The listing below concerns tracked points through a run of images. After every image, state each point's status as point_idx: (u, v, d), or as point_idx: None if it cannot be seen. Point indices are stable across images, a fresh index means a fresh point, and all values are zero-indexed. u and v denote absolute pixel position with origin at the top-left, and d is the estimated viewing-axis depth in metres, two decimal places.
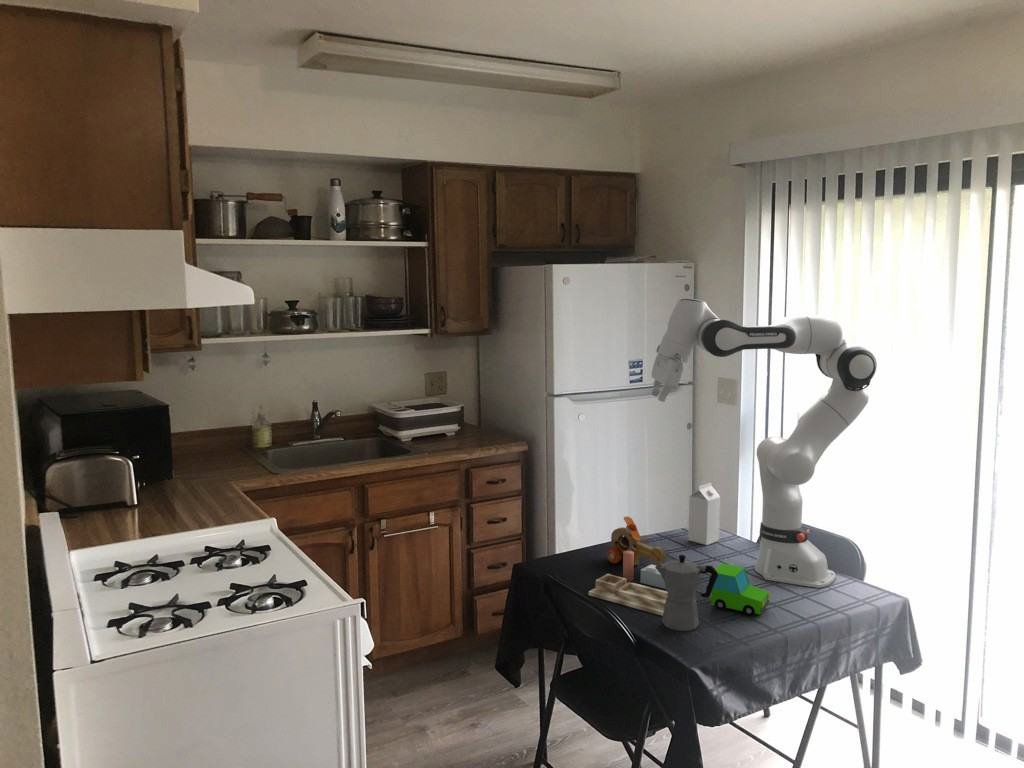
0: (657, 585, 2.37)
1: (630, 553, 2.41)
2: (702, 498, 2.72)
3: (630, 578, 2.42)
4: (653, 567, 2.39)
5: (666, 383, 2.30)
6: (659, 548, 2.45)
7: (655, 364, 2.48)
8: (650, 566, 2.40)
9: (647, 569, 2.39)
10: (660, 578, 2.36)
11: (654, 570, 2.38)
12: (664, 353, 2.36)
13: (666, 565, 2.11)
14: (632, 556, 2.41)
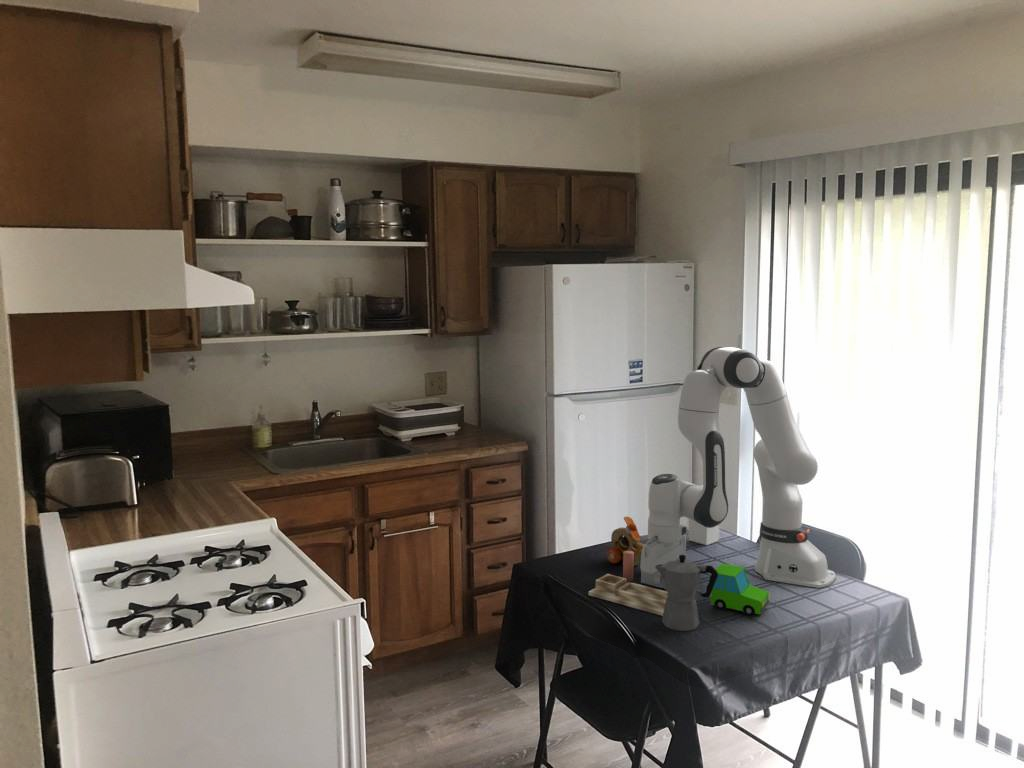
0: (658, 584, 2.37)
1: (630, 553, 2.41)
2: None
3: (630, 578, 2.42)
4: None
5: (641, 569, 2.31)
6: None
7: None
8: None
9: None
10: None
11: None
12: (648, 536, 2.36)
13: (666, 565, 2.11)
14: (632, 556, 2.41)
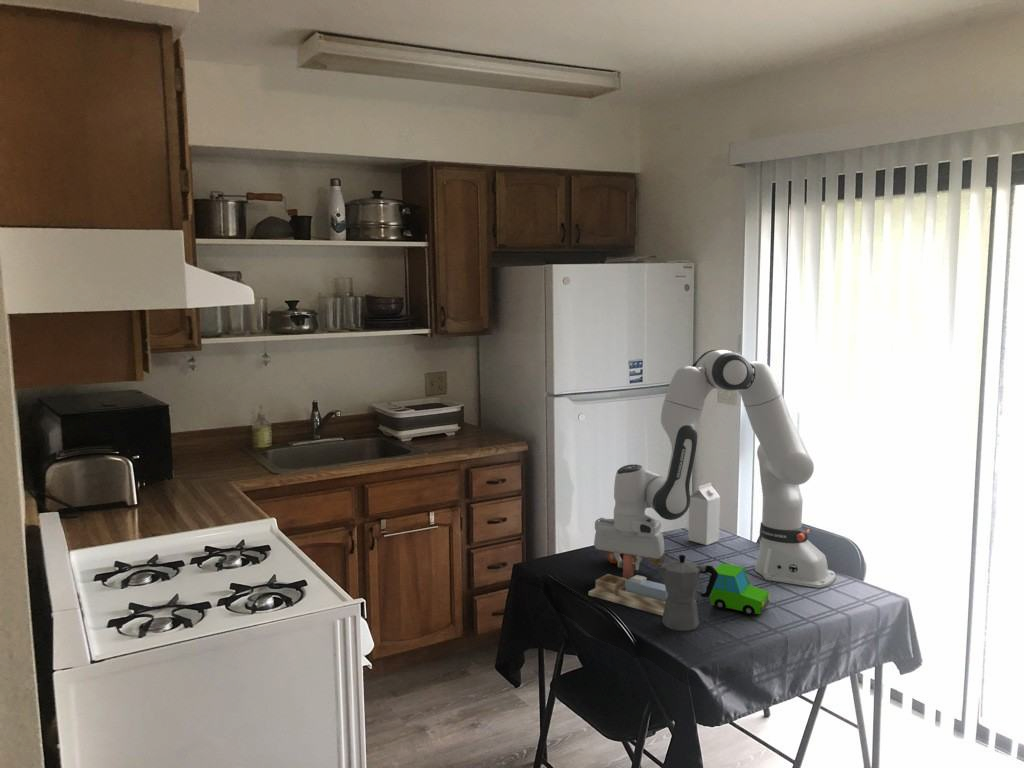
0: None
1: None
2: (702, 498, 2.72)
3: None
4: (639, 578, 2.27)
5: None
6: None
7: None
8: (635, 577, 2.28)
9: (632, 580, 2.27)
10: (646, 590, 2.24)
11: (639, 581, 2.26)
12: None
13: (666, 565, 2.11)
14: (632, 556, 2.41)
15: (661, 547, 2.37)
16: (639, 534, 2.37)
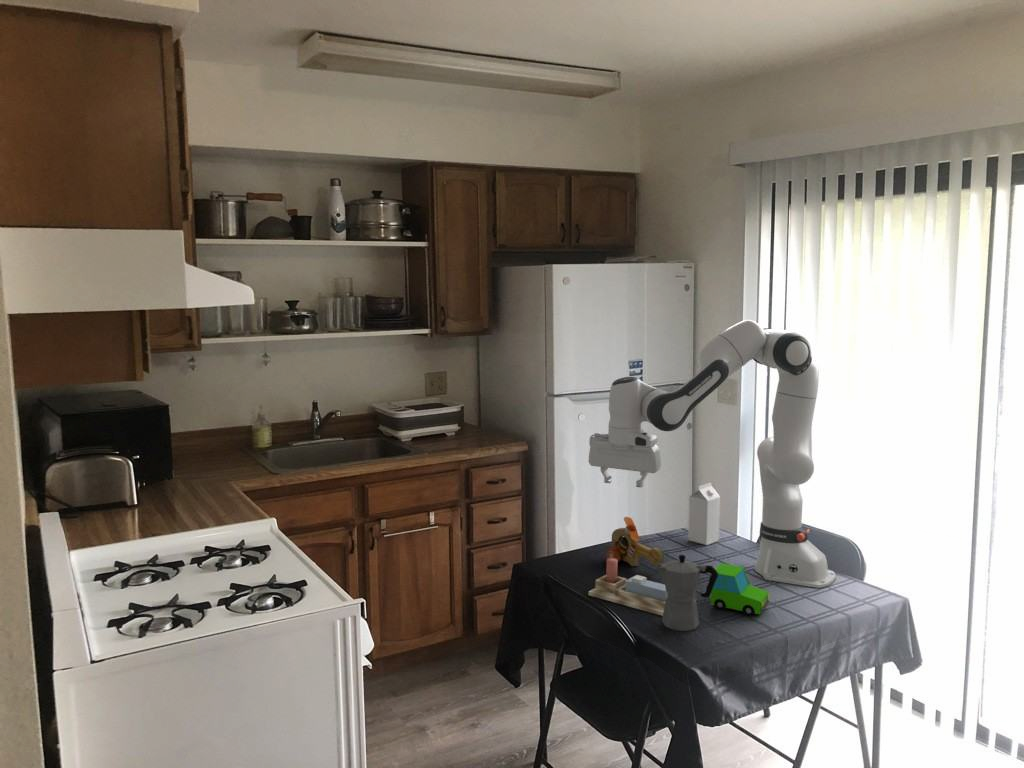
0: None
1: (614, 561, 2.32)
2: (702, 498, 2.72)
3: None
4: (639, 578, 2.27)
5: None
6: (657, 549, 2.44)
7: None
8: (635, 577, 2.28)
9: (632, 580, 2.27)
10: (646, 590, 2.24)
11: (639, 581, 2.26)
12: None
13: (666, 565, 2.11)
14: (617, 563, 2.32)
15: (657, 461, 2.28)
16: (634, 447, 2.29)
